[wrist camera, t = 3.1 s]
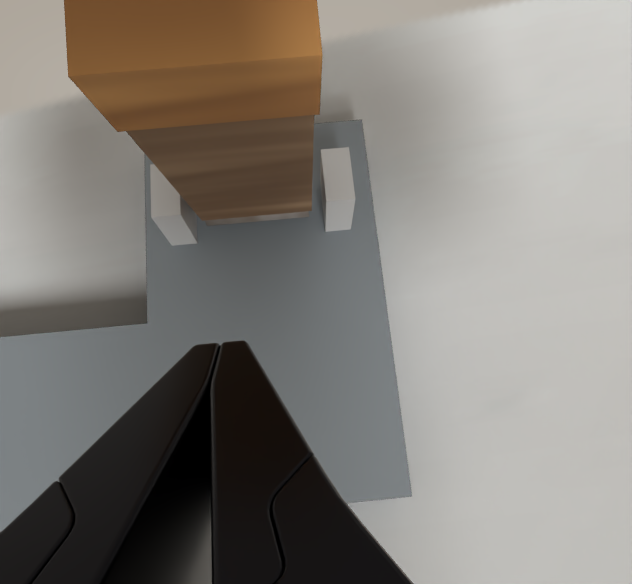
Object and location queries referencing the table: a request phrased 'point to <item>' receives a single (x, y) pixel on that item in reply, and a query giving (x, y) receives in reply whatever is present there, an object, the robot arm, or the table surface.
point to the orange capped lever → (209, 95)
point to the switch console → (231, 334)
